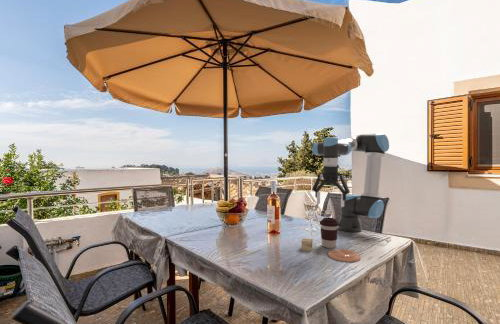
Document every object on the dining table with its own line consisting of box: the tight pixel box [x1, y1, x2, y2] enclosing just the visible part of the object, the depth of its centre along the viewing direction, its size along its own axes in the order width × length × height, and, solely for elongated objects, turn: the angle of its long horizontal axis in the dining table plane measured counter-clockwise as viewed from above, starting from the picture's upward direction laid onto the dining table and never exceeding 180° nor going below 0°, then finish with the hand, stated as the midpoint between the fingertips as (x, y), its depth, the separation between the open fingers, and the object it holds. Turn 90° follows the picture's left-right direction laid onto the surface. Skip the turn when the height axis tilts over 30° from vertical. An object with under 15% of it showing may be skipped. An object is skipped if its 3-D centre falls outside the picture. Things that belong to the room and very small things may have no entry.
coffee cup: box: [319, 217, 339, 249], centre depth 150 cm, size 10×10×15 cm
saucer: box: [327, 248, 362, 263], centre depth 135 cm, size 15×15×1 cm
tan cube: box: [300, 237, 313, 252], centre depth 145 cm, size 5×5×5 cm
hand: (330, 205), depth 150 cm, fingers open, 13 cm apart
